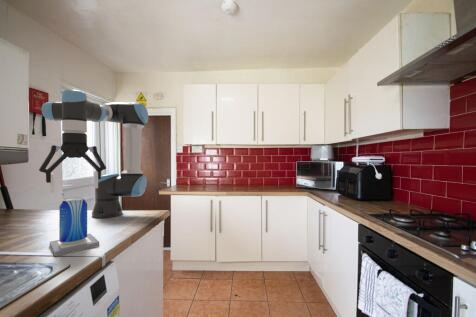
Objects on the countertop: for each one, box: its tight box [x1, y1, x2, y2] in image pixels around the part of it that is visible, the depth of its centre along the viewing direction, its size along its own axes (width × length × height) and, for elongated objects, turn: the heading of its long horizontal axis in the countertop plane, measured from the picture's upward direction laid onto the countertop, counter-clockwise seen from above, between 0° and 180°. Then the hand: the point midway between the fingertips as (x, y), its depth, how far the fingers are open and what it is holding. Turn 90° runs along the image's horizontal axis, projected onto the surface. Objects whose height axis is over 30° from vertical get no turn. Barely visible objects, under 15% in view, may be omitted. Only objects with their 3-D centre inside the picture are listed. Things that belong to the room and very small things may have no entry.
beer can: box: [58, 196, 88, 245], centre depth 85 cm, size 8×8×16 cm
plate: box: [49, 233, 100, 257], centre depth 85 cm, size 13×13×2 cm
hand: (75, 189), depth 86 cm, fingers open, 13 cm apart
